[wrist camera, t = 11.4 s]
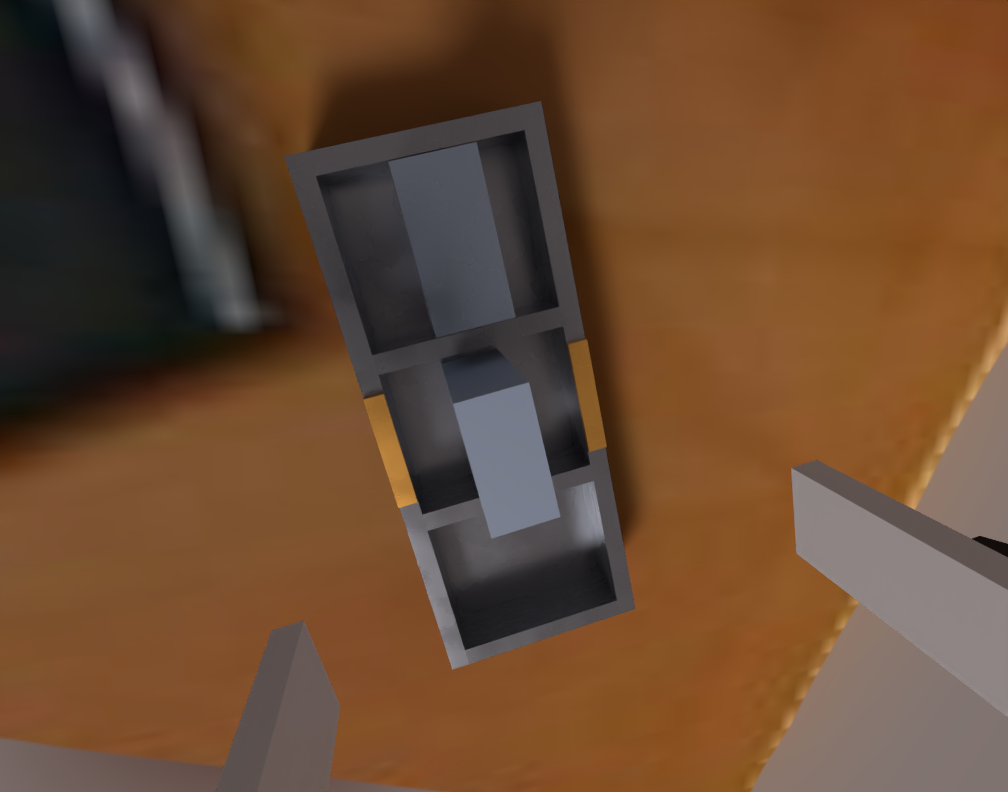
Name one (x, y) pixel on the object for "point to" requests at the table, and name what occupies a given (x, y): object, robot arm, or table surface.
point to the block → (502, 441)
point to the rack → (461, 333)
